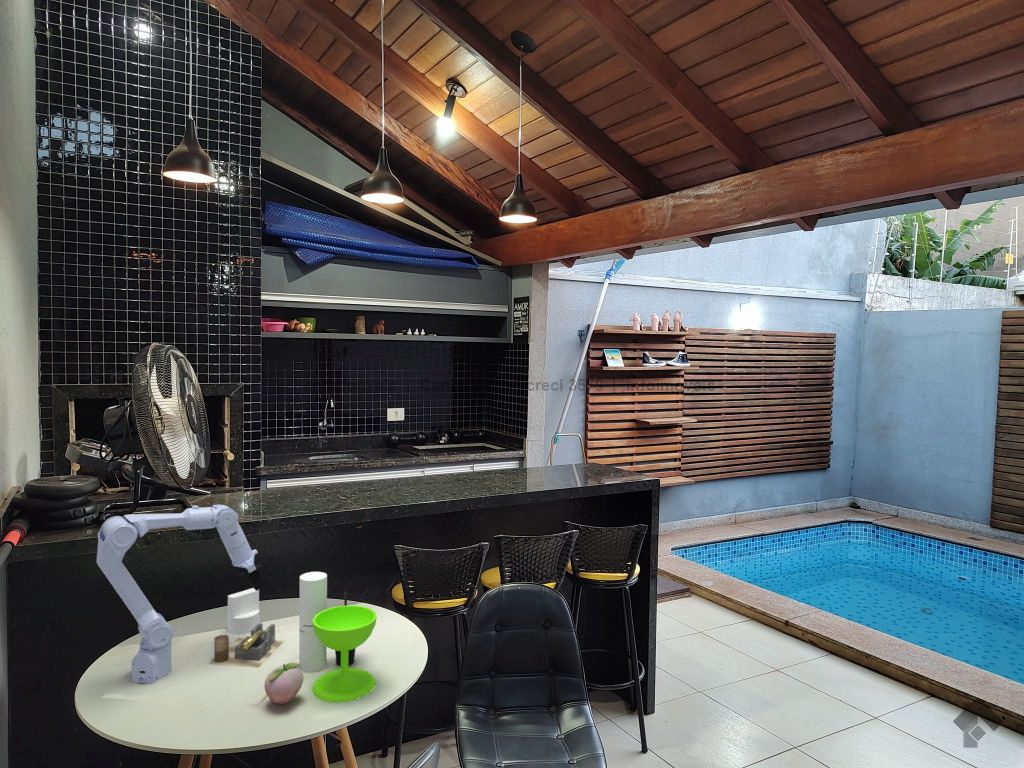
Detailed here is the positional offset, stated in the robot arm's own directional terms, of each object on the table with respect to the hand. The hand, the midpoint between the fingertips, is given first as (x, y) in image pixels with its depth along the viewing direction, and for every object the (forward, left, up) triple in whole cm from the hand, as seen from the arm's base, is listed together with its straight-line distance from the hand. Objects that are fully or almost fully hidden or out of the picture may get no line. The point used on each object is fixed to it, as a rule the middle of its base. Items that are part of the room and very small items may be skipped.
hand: (255, 584), depth 188 cm
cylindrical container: (-8, -20, -19) cm, 29 cm away
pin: (-6, -2, -14) cm, 16 cm away
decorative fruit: (-27, -20, -19) cm, 39 cm away
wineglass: (-17, -32, -19) cm, 41 cm away
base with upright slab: (+10, +9, -19) cm, 23 cm away
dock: (-5, 0, -19) cm, 19 cm away
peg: (-10, +5, -18) cm, 21 cm away
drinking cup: (-5, -28, -19) cm, 34 cm away
